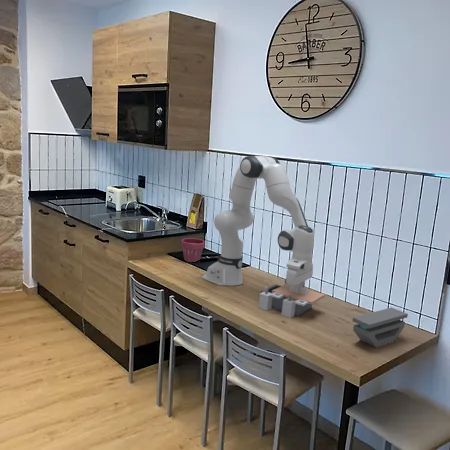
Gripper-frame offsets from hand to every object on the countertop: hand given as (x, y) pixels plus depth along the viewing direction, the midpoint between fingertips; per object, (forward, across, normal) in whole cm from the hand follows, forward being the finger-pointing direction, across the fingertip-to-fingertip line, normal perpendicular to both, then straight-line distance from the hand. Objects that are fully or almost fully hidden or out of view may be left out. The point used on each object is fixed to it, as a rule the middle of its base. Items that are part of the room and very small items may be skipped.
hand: (298, 290), depth 219 cm
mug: (+10, -22, -13) cm, 27 cm away
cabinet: (+9, +2, -6) cm, 11 cm away
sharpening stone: (+9, +6, +40) cm, 42 cm away
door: (+2, +2, 0) cm, 3 cm away
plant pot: (+10, -27, -85) cm, 90 cm away
